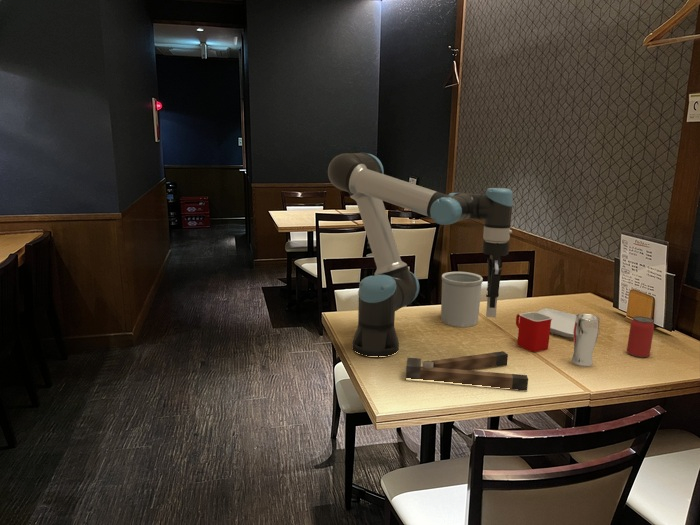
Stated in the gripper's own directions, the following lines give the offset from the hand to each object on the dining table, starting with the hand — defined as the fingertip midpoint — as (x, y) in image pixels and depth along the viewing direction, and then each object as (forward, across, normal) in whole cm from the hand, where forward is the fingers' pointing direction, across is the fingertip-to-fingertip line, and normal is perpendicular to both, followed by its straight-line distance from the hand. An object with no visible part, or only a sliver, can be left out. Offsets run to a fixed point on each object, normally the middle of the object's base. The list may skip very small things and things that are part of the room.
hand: (490, 316), depth 157 cm
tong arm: (+14, -9, +6) cm, 17 cm away
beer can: (+15, +14, -48) cm, 53 cm away
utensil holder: (+14, +34, +8) cm, 37 cm away
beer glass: (+14, +3, -28) cm, 32 cm away
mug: (+14, +15, -14) cm, 25 cm away
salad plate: (+15, +35, -28) cm, 47 cm away
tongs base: (+14, -17, +8) cm, 23 cm away
